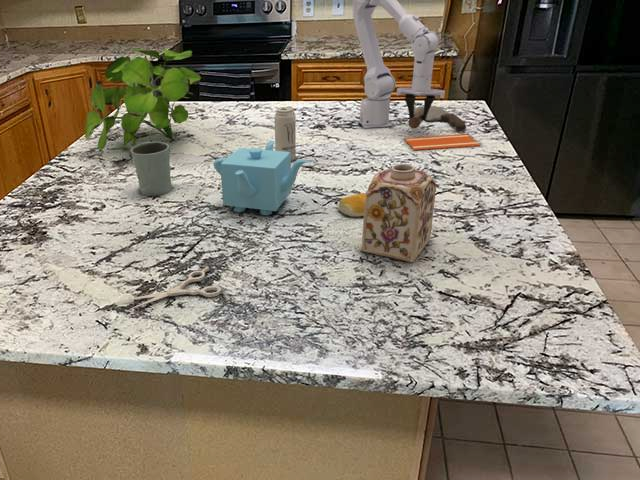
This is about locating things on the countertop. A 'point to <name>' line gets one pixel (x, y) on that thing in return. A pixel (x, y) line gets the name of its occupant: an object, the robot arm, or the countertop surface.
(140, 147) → the grey cup
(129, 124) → the indoor plant
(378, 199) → the decorative jar
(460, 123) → the cleaver
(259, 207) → the teakettle
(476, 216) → the countertop surface
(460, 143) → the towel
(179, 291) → the scissors
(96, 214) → the countertop surface
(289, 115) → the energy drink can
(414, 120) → the rolling pin
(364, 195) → the bread roll
